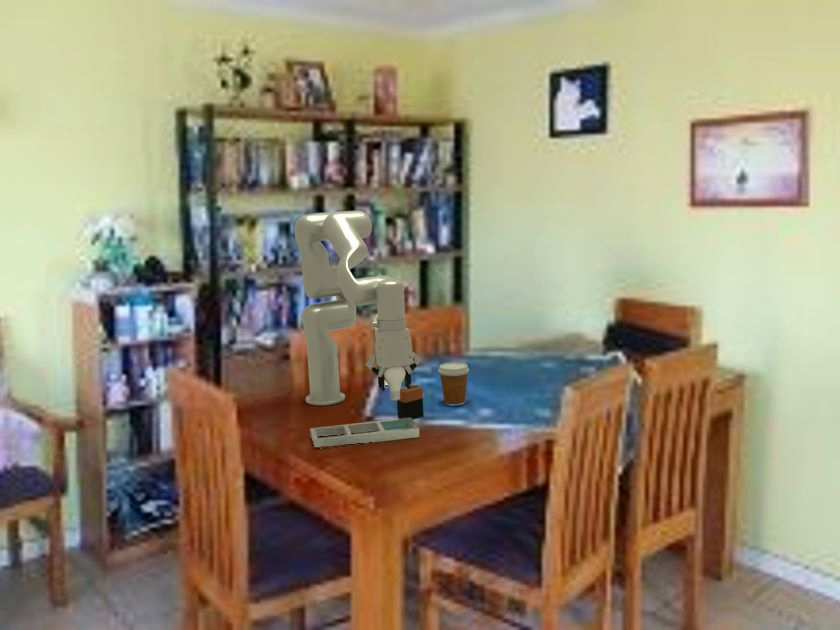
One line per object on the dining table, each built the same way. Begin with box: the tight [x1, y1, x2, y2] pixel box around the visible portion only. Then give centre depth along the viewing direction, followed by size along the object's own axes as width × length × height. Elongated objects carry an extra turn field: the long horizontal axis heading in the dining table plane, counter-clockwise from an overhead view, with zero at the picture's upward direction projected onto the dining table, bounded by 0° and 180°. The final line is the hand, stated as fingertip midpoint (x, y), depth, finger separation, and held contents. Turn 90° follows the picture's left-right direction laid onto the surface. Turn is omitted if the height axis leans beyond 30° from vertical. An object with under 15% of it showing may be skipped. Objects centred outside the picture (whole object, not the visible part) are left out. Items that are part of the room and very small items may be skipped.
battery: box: [396, 382, 424, 420], centre depth 253 cm, size 4×7×10 cm, turn 128°
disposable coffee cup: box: [437, 361, 470, 404], centre depth 265 cm, size 10×10×12 cm
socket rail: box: [309, 417, 420, 448], centre depth 238 cm, size 10×29×2 cm, turn 103°
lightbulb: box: [383, 366, 406, 402], centre depth 237 cm, size 6×6×11 cm
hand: (394, 387), depth 237 cm, fingers closed on lightbulb, 6 cm apart
